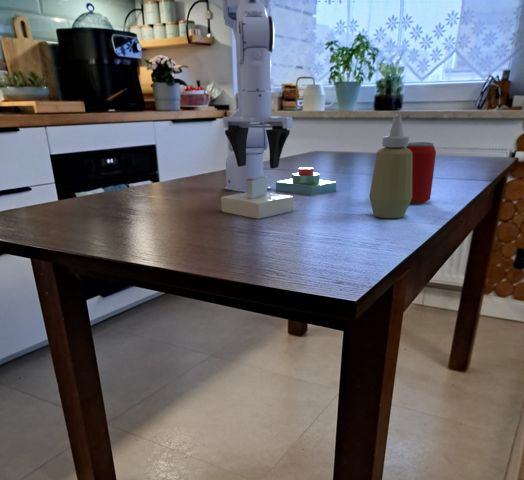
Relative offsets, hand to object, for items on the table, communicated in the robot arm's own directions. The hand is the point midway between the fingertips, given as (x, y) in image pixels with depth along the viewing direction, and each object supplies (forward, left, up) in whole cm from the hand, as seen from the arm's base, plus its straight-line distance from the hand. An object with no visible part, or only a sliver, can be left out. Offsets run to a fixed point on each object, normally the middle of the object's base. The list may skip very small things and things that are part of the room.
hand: (257, 166), depth 104 cm
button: (-9, +25, -5) cm, 27 cm away
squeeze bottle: (+23, +13, -9) cm, 28 cm away
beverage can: (+19, +29, -9) cm, 36 cm away
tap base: (0, -1, -9) cm, 9 cm away
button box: (-9, +25, -9) cm, 28 cm away
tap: (0, -1, -6) cm, 6 cm away
